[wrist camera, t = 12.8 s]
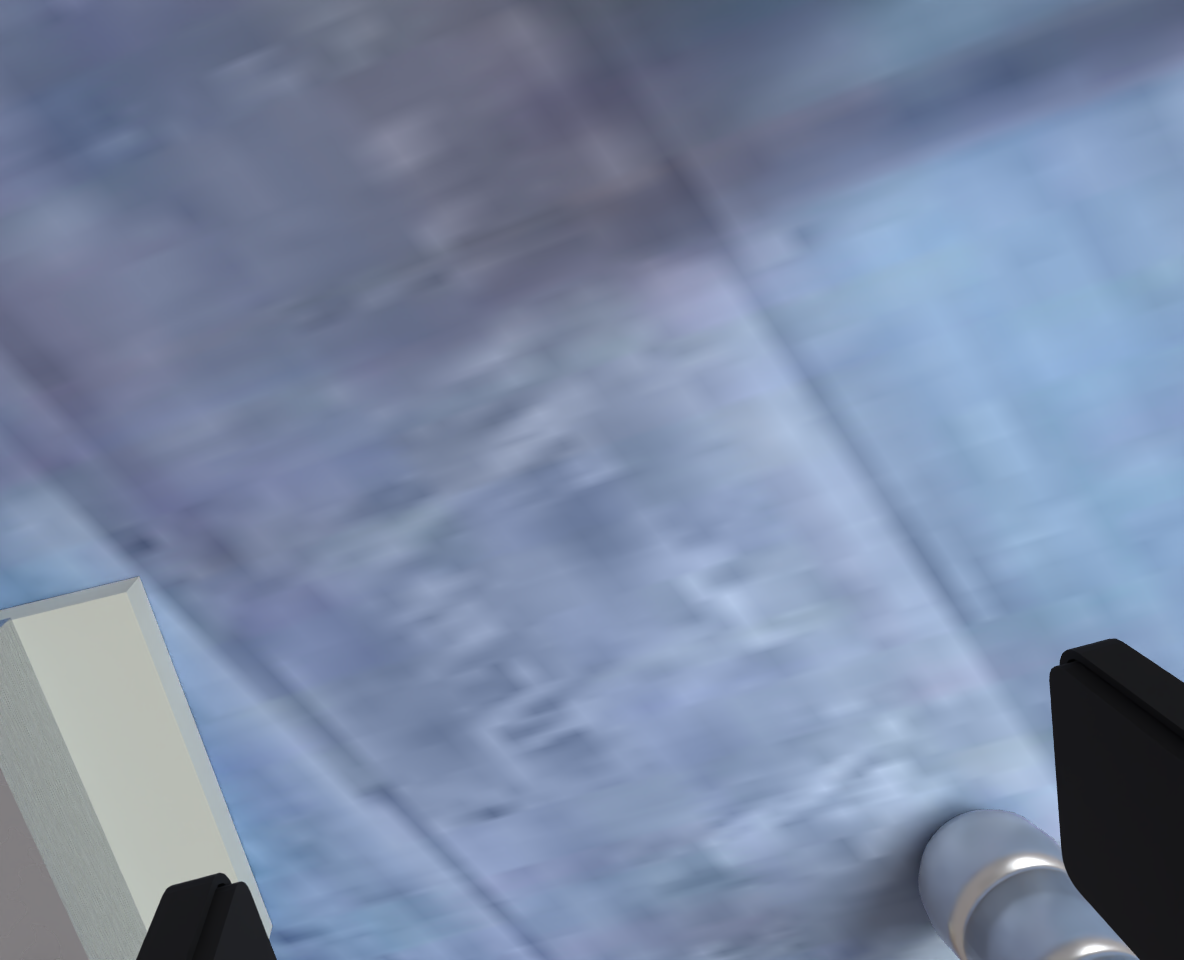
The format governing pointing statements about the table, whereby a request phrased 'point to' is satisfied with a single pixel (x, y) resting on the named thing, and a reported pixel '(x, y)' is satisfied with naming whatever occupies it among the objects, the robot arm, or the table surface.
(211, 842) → the board
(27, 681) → the link plate
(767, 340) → the table surface
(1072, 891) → the plastic bottle
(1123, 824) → the robot arm
